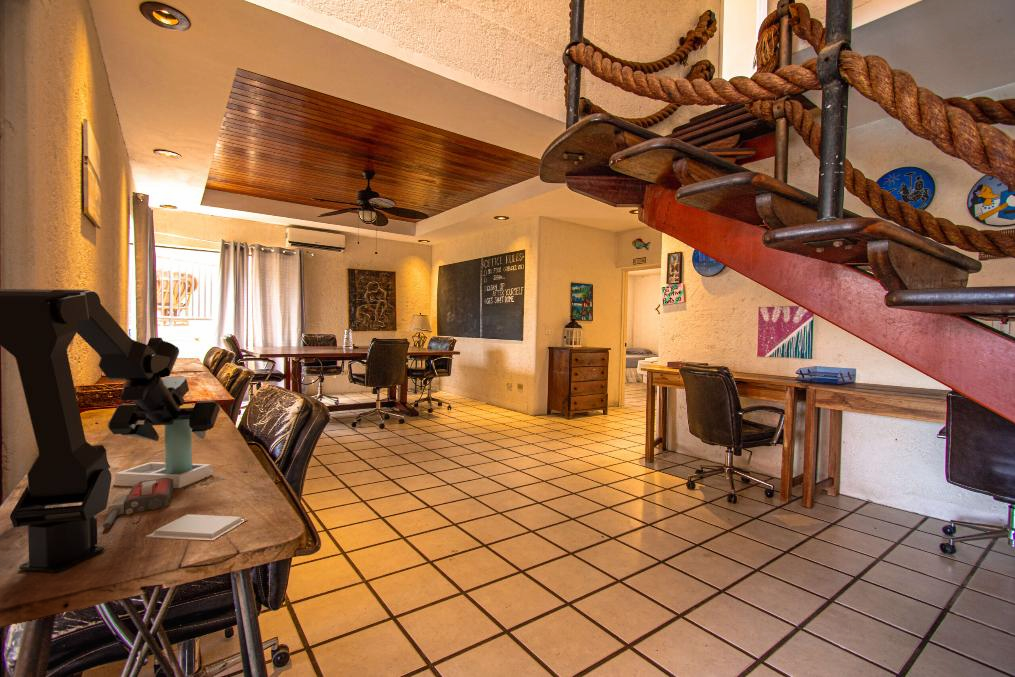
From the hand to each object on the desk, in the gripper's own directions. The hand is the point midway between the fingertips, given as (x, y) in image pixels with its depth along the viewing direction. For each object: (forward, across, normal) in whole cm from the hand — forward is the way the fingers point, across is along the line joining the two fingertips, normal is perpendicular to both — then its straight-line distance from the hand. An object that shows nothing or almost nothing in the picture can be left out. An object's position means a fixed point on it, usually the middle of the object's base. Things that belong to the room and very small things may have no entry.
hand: (180, 438), depth 100 cm
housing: (+7, +4, +6) cm, 10 cm away
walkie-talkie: (-5, -1, +19) cm, 19 cm away
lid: (-14, -16, +28) cm, 34 cm away
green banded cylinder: (+5, 0, +6) cm, 8 cm away
